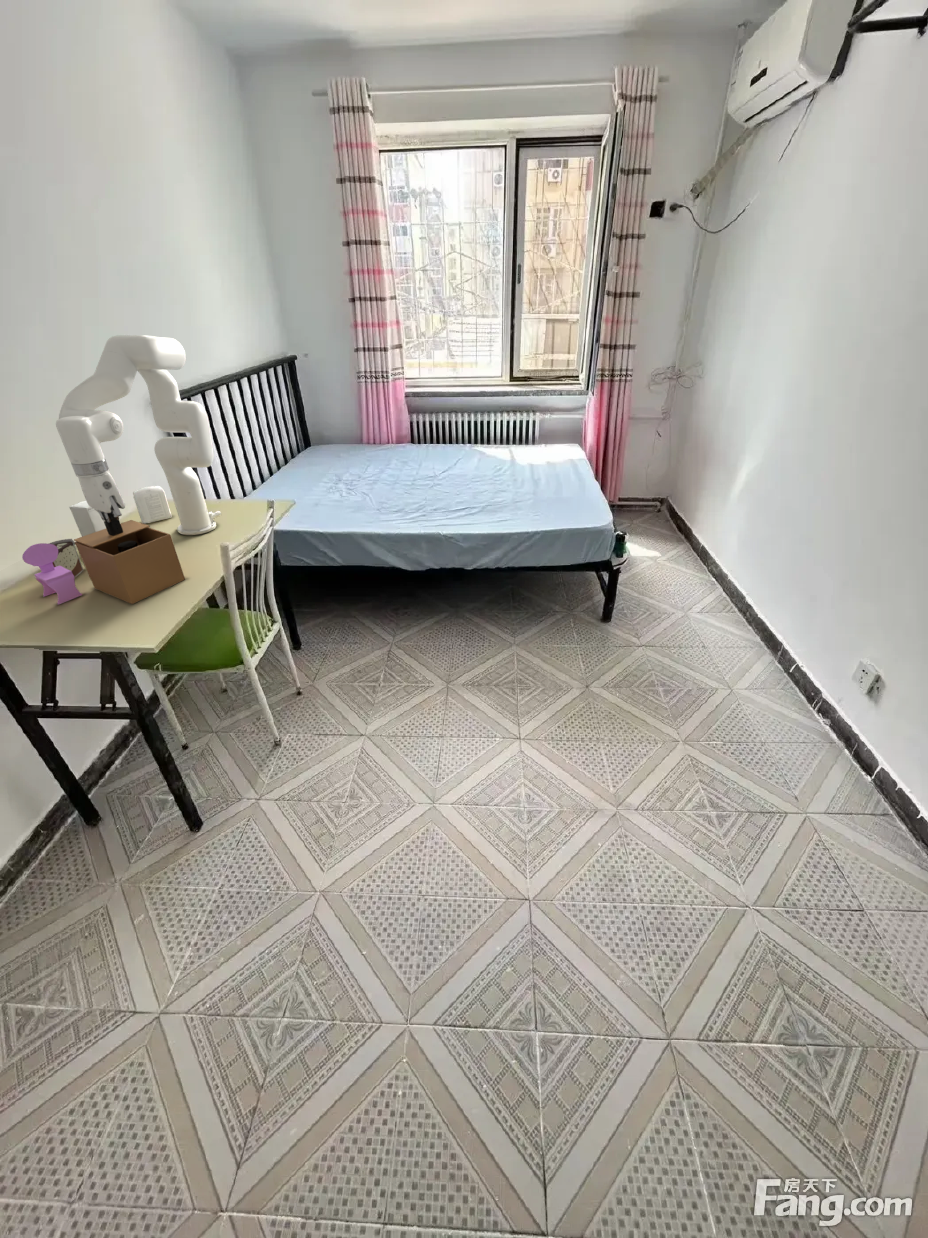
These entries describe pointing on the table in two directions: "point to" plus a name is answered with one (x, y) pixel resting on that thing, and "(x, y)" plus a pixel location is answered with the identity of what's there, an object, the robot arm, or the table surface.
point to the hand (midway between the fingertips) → (116, 533)
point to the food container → (67, 556)
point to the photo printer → (152, 504)
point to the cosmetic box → (87, 518)
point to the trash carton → (133, 565)
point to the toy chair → (51, 572)
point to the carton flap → (104, 537)
